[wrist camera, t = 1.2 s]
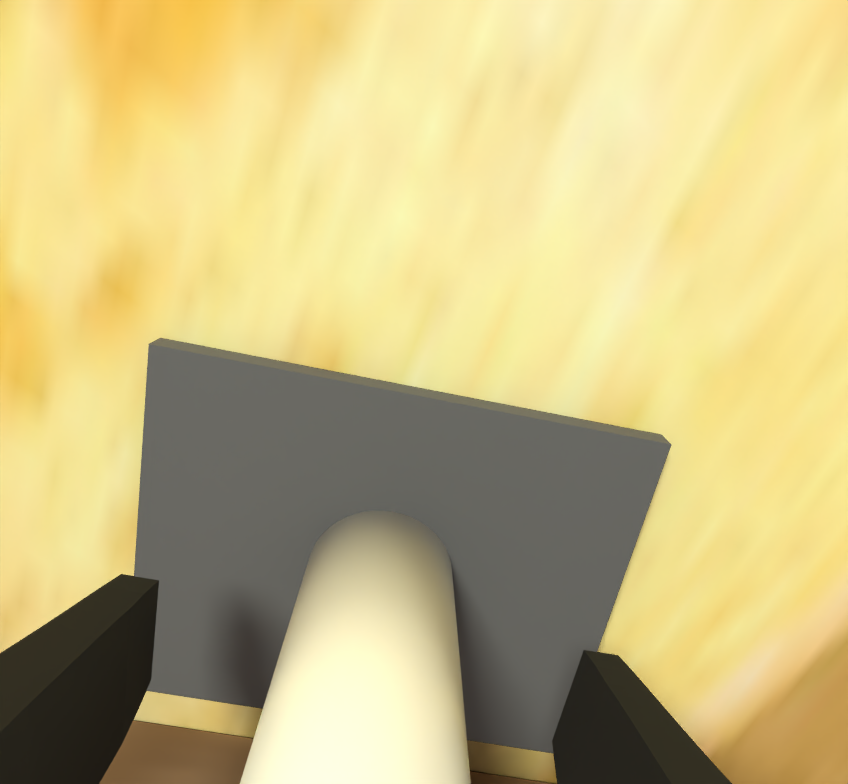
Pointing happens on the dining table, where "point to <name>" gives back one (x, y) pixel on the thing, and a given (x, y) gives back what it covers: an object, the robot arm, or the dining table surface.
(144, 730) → the socket board
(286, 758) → the plug
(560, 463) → the mat
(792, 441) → the dining table surface
